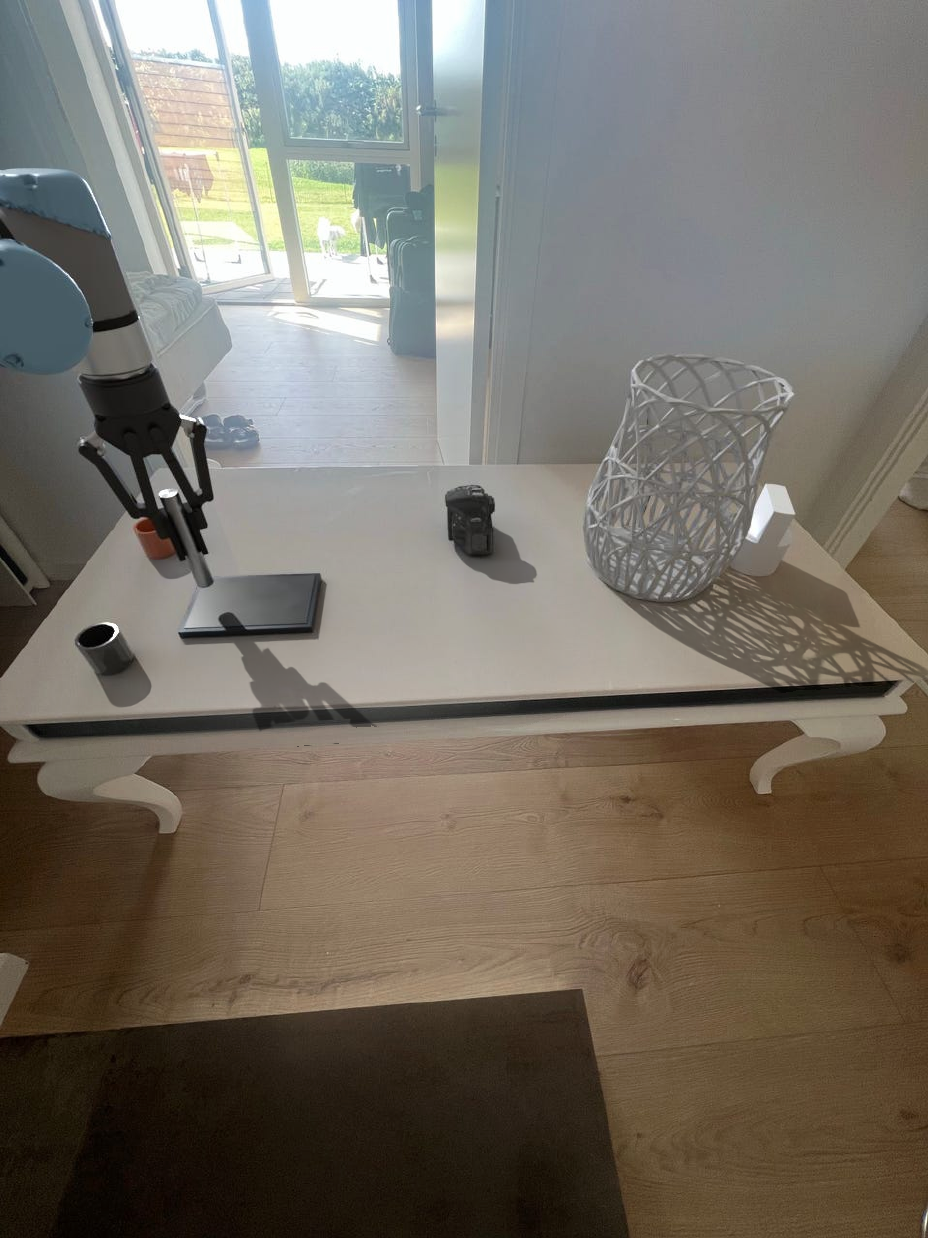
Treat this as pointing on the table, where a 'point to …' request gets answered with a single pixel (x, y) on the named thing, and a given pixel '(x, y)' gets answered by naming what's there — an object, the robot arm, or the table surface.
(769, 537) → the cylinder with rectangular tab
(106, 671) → the pen stand
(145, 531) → the pen cup
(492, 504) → the camera
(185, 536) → the silver metal rod
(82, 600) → the table surface
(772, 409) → the vase
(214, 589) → the tablet
